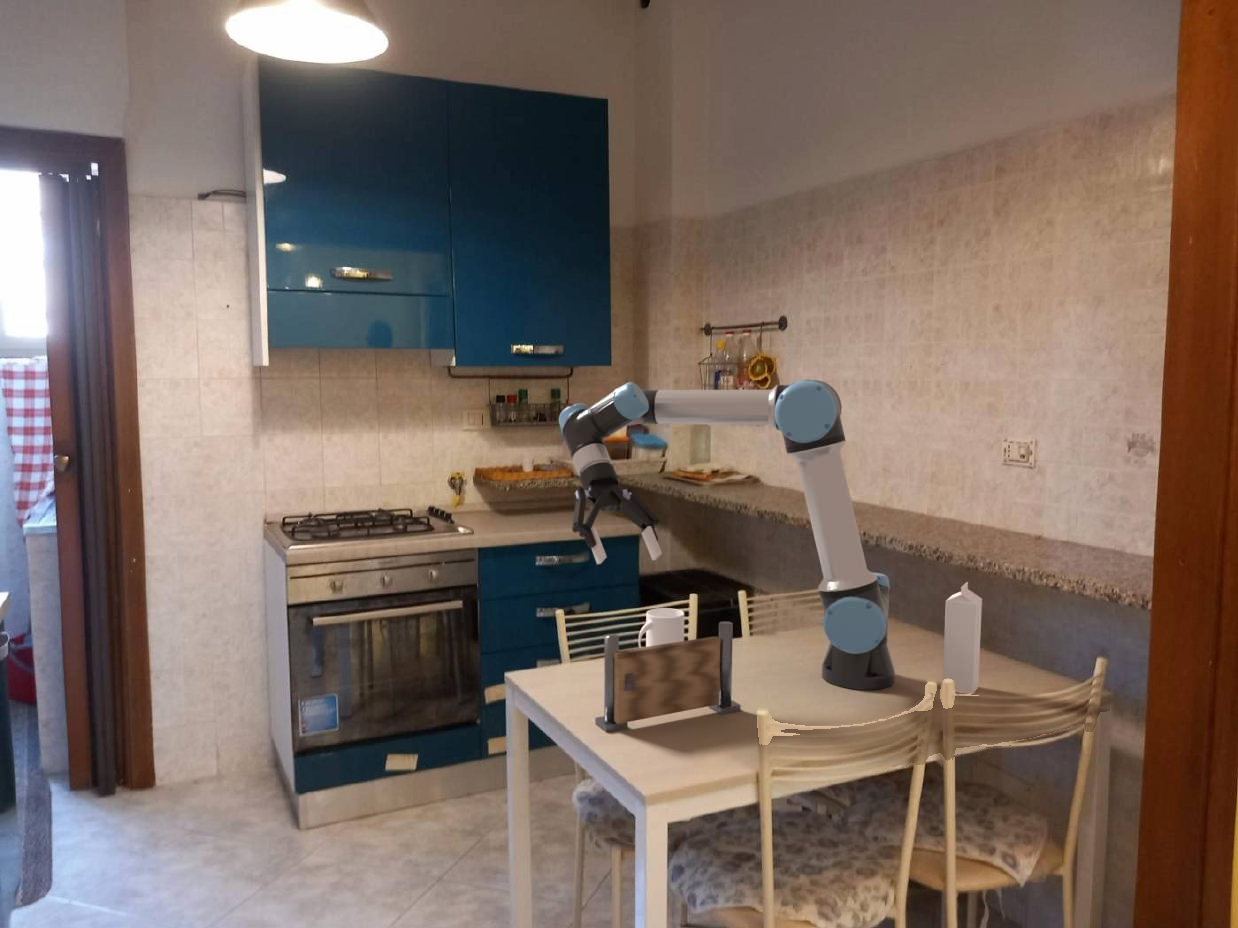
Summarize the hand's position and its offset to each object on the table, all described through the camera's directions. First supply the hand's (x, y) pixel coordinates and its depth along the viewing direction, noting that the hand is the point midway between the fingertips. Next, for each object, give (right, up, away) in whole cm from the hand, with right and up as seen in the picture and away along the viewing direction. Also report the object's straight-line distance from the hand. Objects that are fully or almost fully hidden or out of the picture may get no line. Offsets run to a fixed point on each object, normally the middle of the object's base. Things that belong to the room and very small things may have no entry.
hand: (630, 558), depth 185 cm
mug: (+7, -26, +27) cm, 38 cm away
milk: (+68, -28, +8) cm, 74 cm away
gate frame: (+7, -29, -8) cm, 31 cm away
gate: (+7, -28, -10) cm, 30 cm away
